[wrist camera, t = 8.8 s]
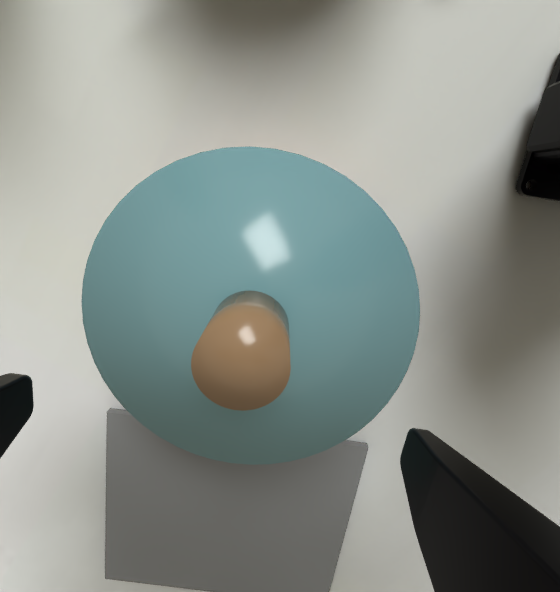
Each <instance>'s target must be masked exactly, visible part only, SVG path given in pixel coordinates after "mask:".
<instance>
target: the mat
mask: <svg viewBox="0 0 560 592" xmlns="http://www.w3.org/2000/svg"><path fill="white" fill-rule="evenodd" d="M367 451H368V445H367V443H361V442H353V441H346V440H345V441H343V442H341V443H339V444H337V445H335V446H333V447H331V448H329V449H327V450H325V451H322V452H320V453H317V454H314V455H312V456H309V457H306V458H302V459H298V460H294V461H289V462H282V463H275V464H258V465H248V464H236V463H228V462H223V461H218V460H212V459H209V458H206V457H203V456H199V455H196V454H193V453H191V452H188V451H186V450H184V449H181V448H179V447H177V446H175V445H173V444H171V443H169V442H168V441H166V440H164V439H162V438H160V437H159V436H157V435H156V434H154V433H153V432H152V431H150V430H149V429H148V428H146V427H145V426H143V425H142V424H141V423H140V422H139V421H138V420H137V419H135V418H134V417H133V416H132V415H131V414H130V413H129V412H128V411H127V410H119V409H112V408H110V409H109V410H108V411H107V449H106V542H105V579H112V580H120V581H128V582H137V583H145V584H153V585H161V586H170V587H178V588H186V589H194V590H203V591H211V592H329V590H330V587H331V583H332V579H333V576H334V572H335V568H336V565H337V561H338V557H339V554H340V550H341V546H342V543H343V539H344V535H345V532H346V528H347V524H348V521H349V517H350V513H351V510H352V506H353V502H354V499H355V495H356V491H357V487H358V484H359V480H360V476H361V473H362V469H363V465H364V462H365V458H366V454H367Z"/></svg>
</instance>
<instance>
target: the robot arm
mask: <svg viewBox="0 0 560 592" xmlns="http://www.w3.org/2000/svg"><path fill="white" fill-rule="evenodd" d="M529 180H530V181H531V187H530V188H529V189H527V188H526V184H527V182H528V181H529ZM516 191H517V192H518V193H519V194H520V195H523V196H529V197H535V198H541V199H548V200H554V201H560V54H559V56H558V59H557V62H556V65H555V68H554V71H553V74H552V77H551V80H550V83H549V86H548V88H546V89H545V91H544V94H543V97H542V100H541V103H540V106H539V109H538V112H537V115H536V118H535V121H534V124H533V127H532V130H531V133H530V136H529V139H528V142H527V152H526V155H525V158H524V161H523V164H522V167H521V170H520V173H519V176H518V179H517V183H516ZM32 411H33V388H32V380H31V378H30V377H29V376H27V375H21V374H14V373H9V374H5V375H2V376H0V458H1V457H2V455H3V454H4V452H5V451H6V450H7V448H8V447H9V445H10V444H11V443H12V441H13V440H14V439H15V437H16V436H17V434H18V433H19V432H20V430H21V429H22V427H23V426H24V425H25V423H26V422H27V421H28V419H29V418H30V416H31V414H32ZM400 464H401V470H402V474H403V479H404V484H405V488H406V493H407V497H408V502H409V506H410V511H411V515H412V520H413V524H414V528H415V532H416V535H417V539H418V542H419V545H420V548H421V551H422V554H423V557H424V560H425V563H426V566H427V570H428V573H429V576H430V579H431V582H432V585H433V588H434V591H435V592H560V527H559V526H558V525H557V524H555V523H554V522H553V521H551V520H550V519H549V518H547V517H546V516H544V515H543V514H542V513H540V512H539V511H538V510H536V509H535V508H533V507H532V506H531V505H529V504H528V503H527V502H525V501H524V500H523V499H521V498H520V497H518V496H517V495H516V494H514V493H513V492H512V491H510V490H509V489H508V488H506V487H505V486H503V485H502V484H501V483H499V482H498V481H497V480H495V479H494V478H493V477H491V476H490V475H488V474H487V473H486V472H484V471H483V470H482V469H480V468H479V467H478V466H476V465H475V464H473V463H472V462H471V461H469V460H468V459H467V458H465V457H464V456H463V455H461V454H460V453H458V452H457V451H456V450H454V449H453V448H452V447H450V446H449V445H448V444H446V443H445V442H443V441H442V440H441V439H439V438H438V437H437V436H435V435H434V434H433V433H431V432H430V431H428V430H423V429H416V428H412V429H410V430H409V432H408V434H407V437H406V441H405V444H404V447H403V450H402V454H401V459H400Z"/></svg>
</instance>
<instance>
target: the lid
mask: <svg viewBox="0 0 560 592" xmlns="http://www.w3.org/2000/svg"><path fill="white" fill-rule="evenodd" d="M82 313H83V324H84V329H85V333H86V338H87V342H88V346H89V348H90V351H91V354H92V357H93V359H94V362H95V364H96V366H97V368H98V370H99V372H100V374H101V376H102V378H103V380H104V381H105V383H106V384H107V386H108V387H109V389H110V390H111V392H112V393H113V395H114V396H115V397H116V399H117V400H118V401H119V402H120V403H121V404H122V405H123V407H124V408H125V409H126V410H127V411H128V412H129V413H130V414H131V415H132V416H133V417H134V418H135V419H137V420H138V421H139V422H140V423H141V424H142V425H143V426H145V427H146V428H148V429H149V430H150V431H152V432H153V433H154V434H156V435H157V436H159V437H160V438H162V439H164V440H166V441H168V442H169V443H171V444H173V445H175V446H177V447H179V448H181V449H184V450H186V451H188V452H191V453H193V454H196V455H199V456H203V457H206V458H209V459H212V460H218V461H223V462H228V463H236V464H248V465H258V464H275V463H282V462H289V461H294V460H298V459H302V458H306V457H309V456H312V455H314V454H317V453H320V452H322V451H325V450H327V449H329V448H331V447H333V446H335V445H337V444H339V443H341V442H343V441H345V440H346V439H348V438H349V437H351V436H352V435H354V434H355V433H357V432H358V431H359V430H361V429H362V428H363V427H364V426H365V425H366V424H368V423H369V422H370V421H371V420H372V419H374V417H375V416H376V415H377V414H378V413H379V412H380V411H381V410H382V409H383V408H384V407H385V405H386V404H387V403H388V402H389V400H390V399H391V397H392V396H393V395H394V393H395V392H396V390H397V389H398V387H399V385H400V383H401V382H402V380H403V378H404V376H405V374H406V372H407V370H408V367H409V364H410V362H411V359H412V356H413V354H414V350H415V346H416V341H417V336H418V332H419V319H420V302H419V289H418V284H417V279H416V275H415V270H414V267H413V264H412V261H411V258H410V256H409V253H408V250H407V247H406V246H405V244H404V242H403V240H402V238H401V236H400V234H399V232H398V231H397V229H396V227H395V226H394V224H393V223H392V222H391V220H390V219H389V217H388V216H387V215H386V213H385V212H384V211H383V209H382V208H381V207H380V206H379V205H378V204H377V203H376V202H375V201H374V200H373V199H372V198H371V197H370V196H369V195H368V194H367V193H366V192H365V191H364V190H363V189H361V188H360V187H359V186H357V185H356V184H355V183H354V182H352V181H351V180H350V179H348V178H347V177H346V176H344V175H342V174H340V173H339V172H337V171H335V170H333V169H332V168H330V167H328V166H326V165H325V164H322V163H320V162H317V161H315V160H312V159H310V158H307V157H304V156H302V155H299V154H295V153H290V152H286V151H282V150H278V149H271V148H260V147H231V148H221V149H216V150H211V151H206V152H200V153H197V154H195V155H192V156H189V157H186V158H183V159H180V160H177V161H175V162H173V163H171V164H169V165H168V166H166V167H164V168H162V169H160V170H158V171H156V172H154V173H153V174H152V175H150V176H149V177H147V178H146V179H145V180H143V181H142V182H141V183H139V184H138V185H136V186H135V187H134V188H133V189H132V190H131V191H130V192H129V193H128V194H127V195H126V196H125V197H124V198H123V199H122V200H121V201H120V202H119V203H118V205H117V206H116V207H115V208H114V210H113V211H112V212H111V214H110V215H109V216H108V218H107V219H106V220H105V222H104V224H103V226H102V228H101V230H100V231H99V233H98V235H97V237H96V239H95V241H94V244H93V246H92V249H91V252H90V255H89V257H88V260H87V264H86V269H85V274H84V279H83V289H82Z"/></svg>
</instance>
